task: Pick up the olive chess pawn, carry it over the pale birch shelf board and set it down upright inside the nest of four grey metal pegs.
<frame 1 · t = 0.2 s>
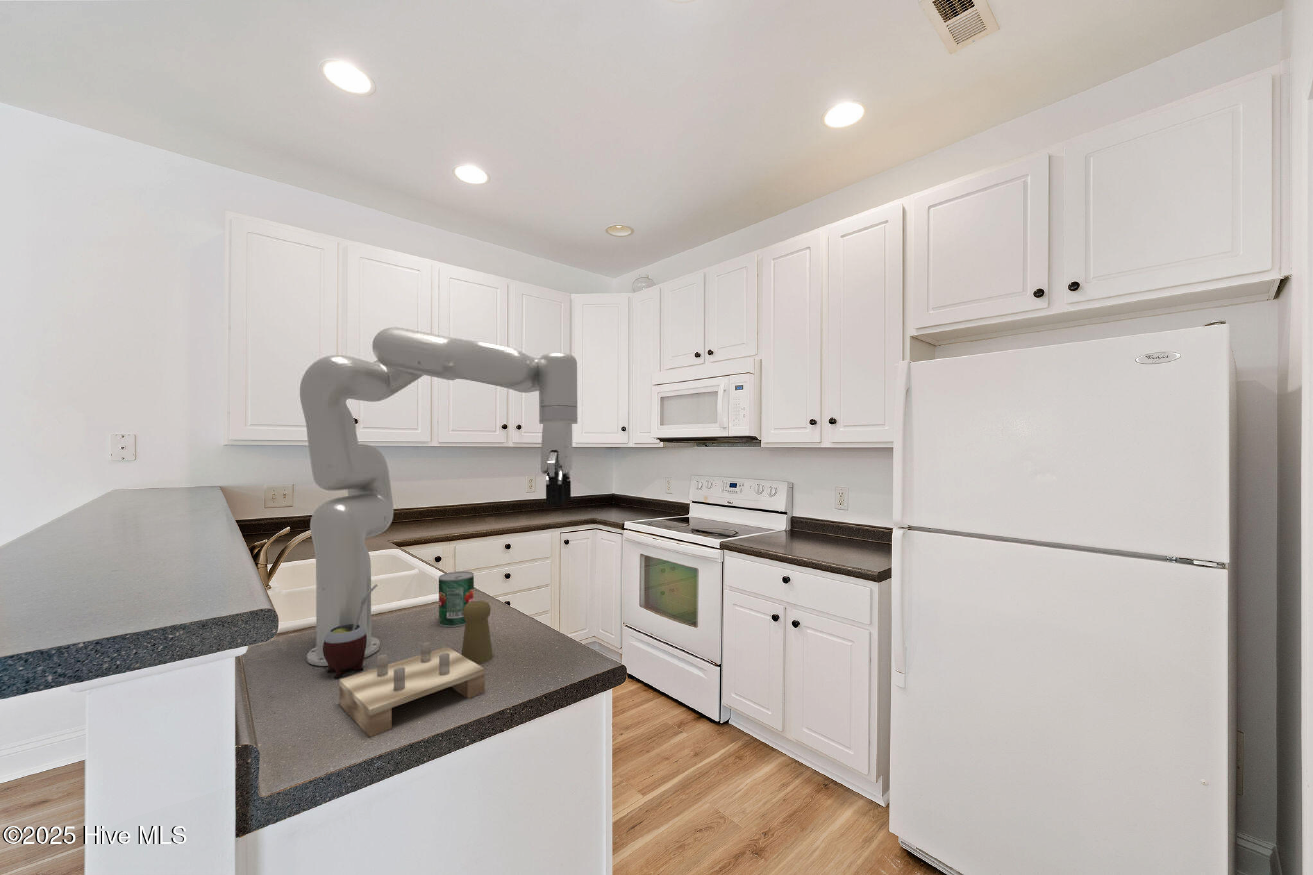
hand: (559, 502, 102), 31 cm above the counter, tool pointing down, fingers open, 9 cm apart
shelf board: (413, 697, 86), on the counter
canned tomato: (456, 622, 122), on the counter
olive chess pawn: (476, 658, 102), on the counter
mate gourd: (347, 671, 96), on the counter
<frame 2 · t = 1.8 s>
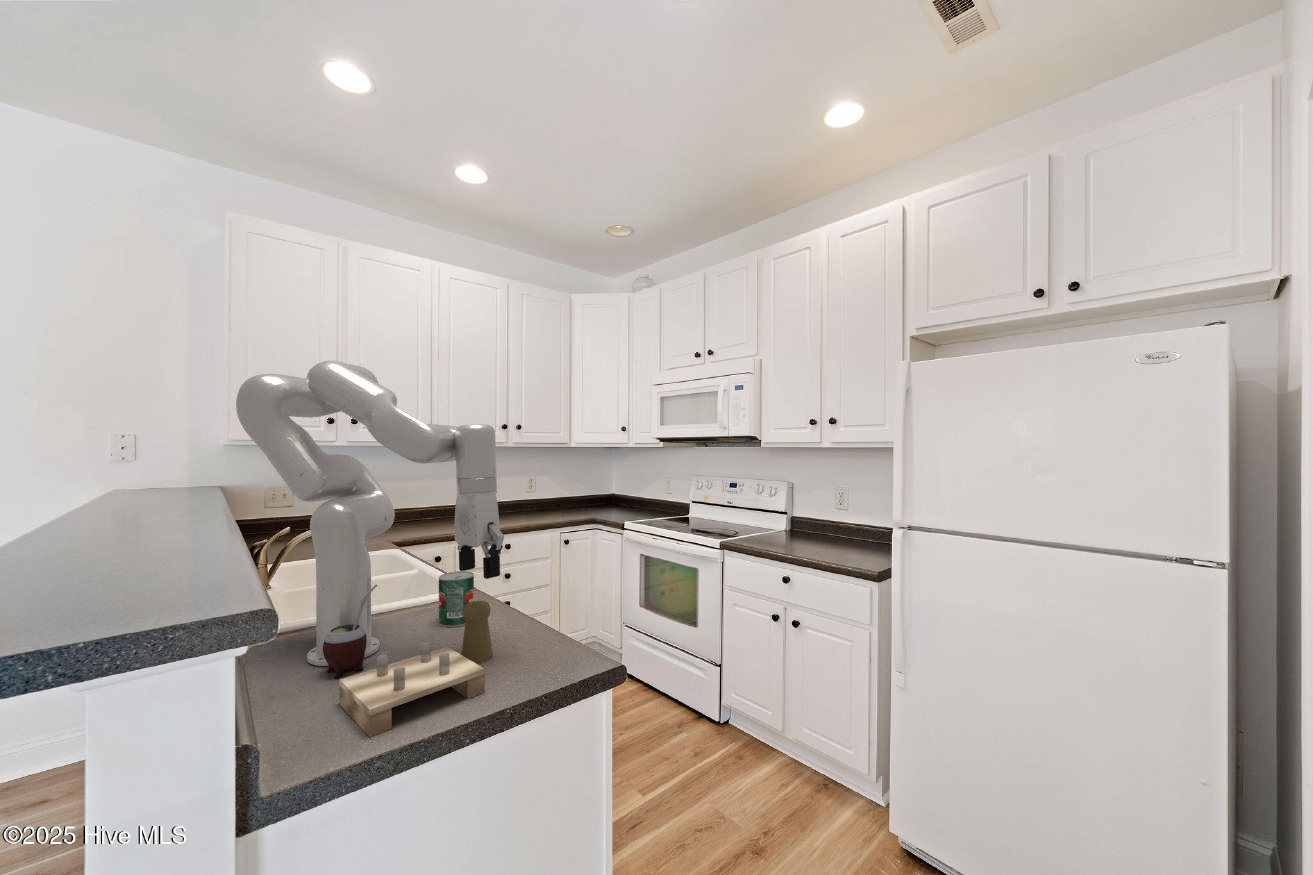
hand: (479, 573, 102), 17 cm above the counter, tool pointing down, fingers open, 9 cm apart
nothing on the counter moved.
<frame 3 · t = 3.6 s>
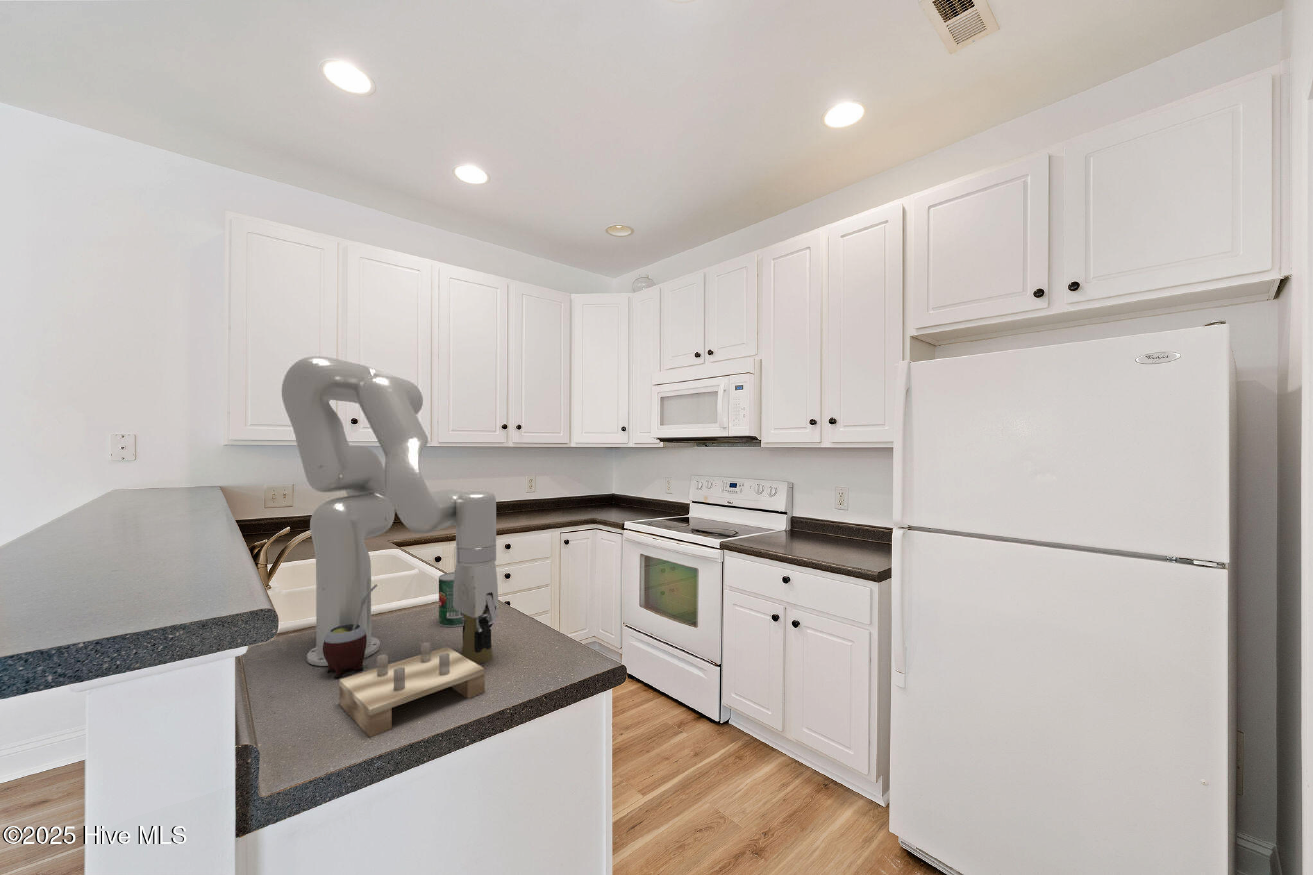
hand: (476, 646, 102), 2 cm above the counter, tool pointing down, fingers closed on olive chess pawn, 4 cm apart
olive chess pawn: (476, 658, 102), on the counter, touching gripper
everything else where it was.
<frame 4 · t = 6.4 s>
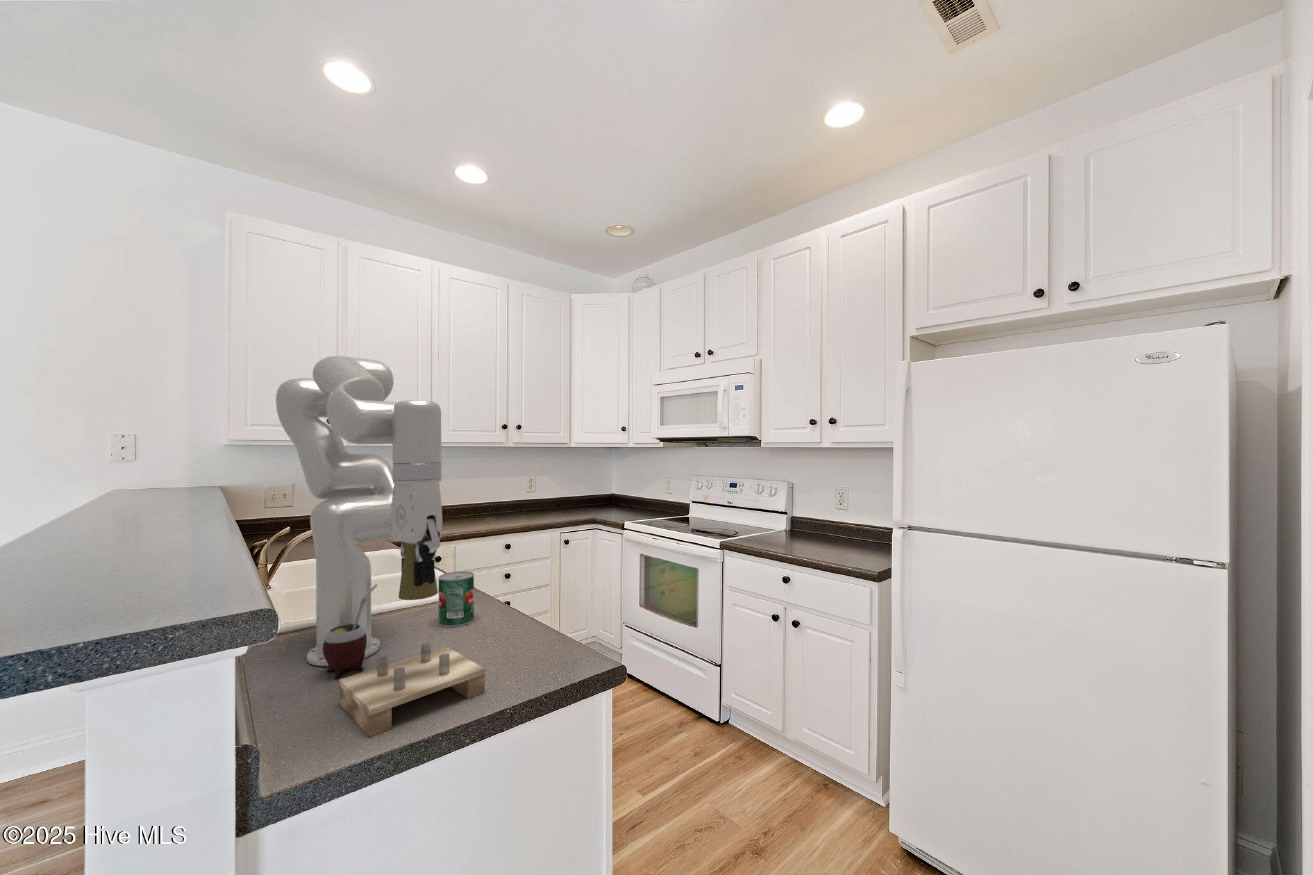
hand: (417, 580, 87), 19 cm above the counter, tool pointing down, fingers closed on olive chess pawn, 4 cm apart
olive chess pawn: (418, 595, 87), point 17 cm above the counter, touching gripper
everything else where it was.
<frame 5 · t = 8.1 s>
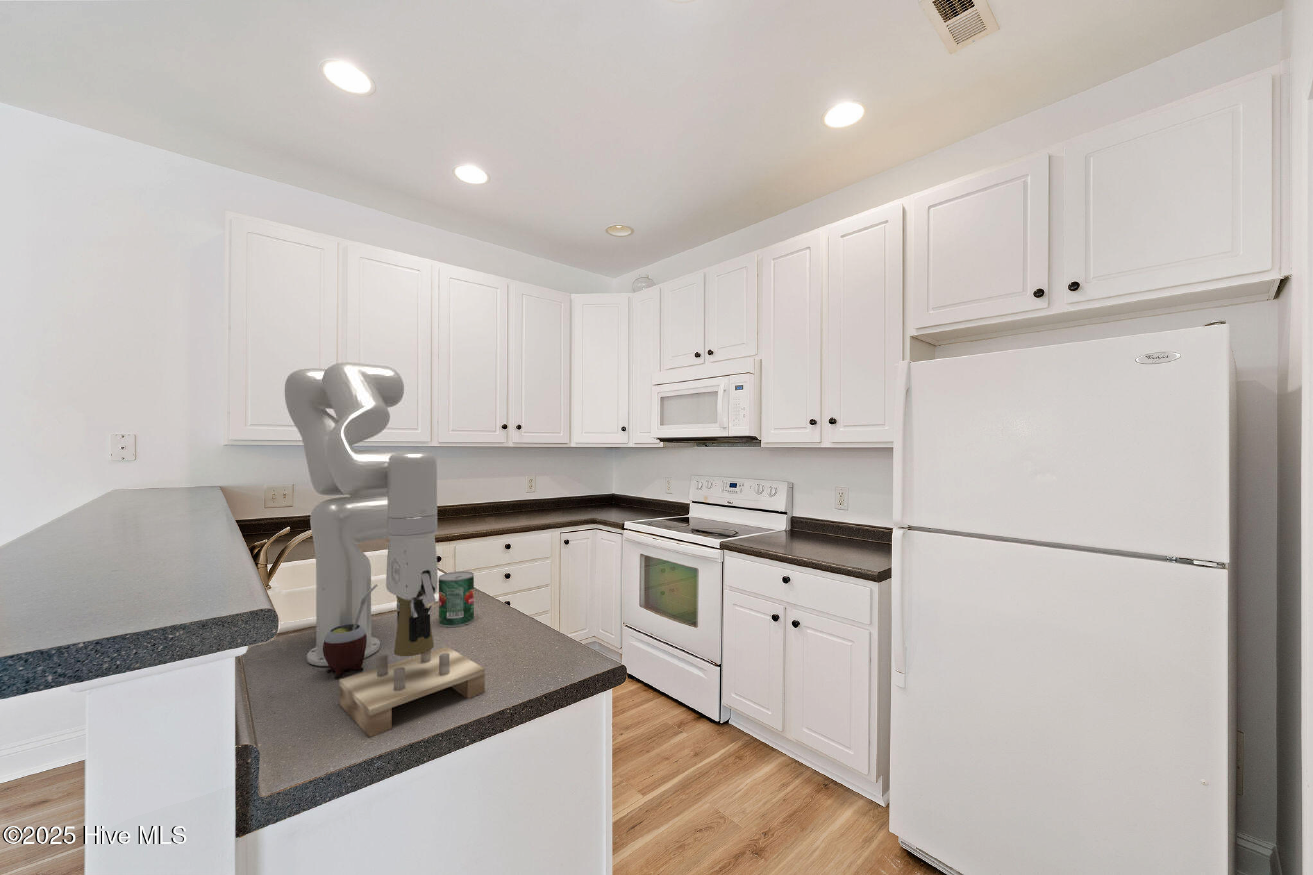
hand: (413, 634, 86), 11 cm above the counter, tool pointing down, fingers closed on olive chess pawn, 4 cm apart
olive chess pawn: (414, 649, 86), point 8 cm above the counter, touching gripper
everything else where it was.
when the fingers open (8 cm above the counter, at t = 9.3 s): olive chess pawn drops 2 cm, resting on shelf board.
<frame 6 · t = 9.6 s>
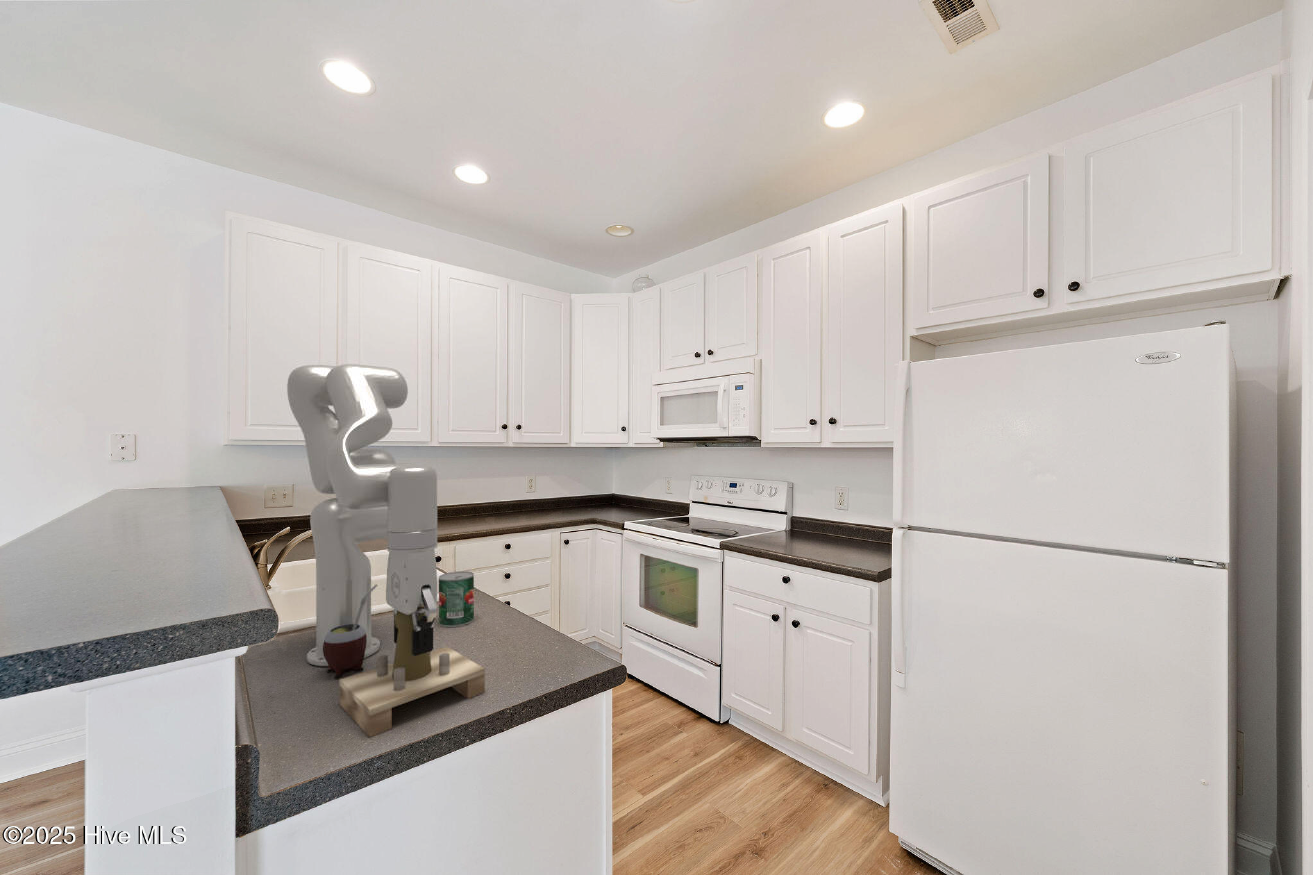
hand: (413, 645, 86), 9 cm above the counter, tool pointing down, fingers open, 6 cm apart
olive chess pawn: (412, 674, 86), point 4 cm above the counter, touching shelf board
everything else where it was.
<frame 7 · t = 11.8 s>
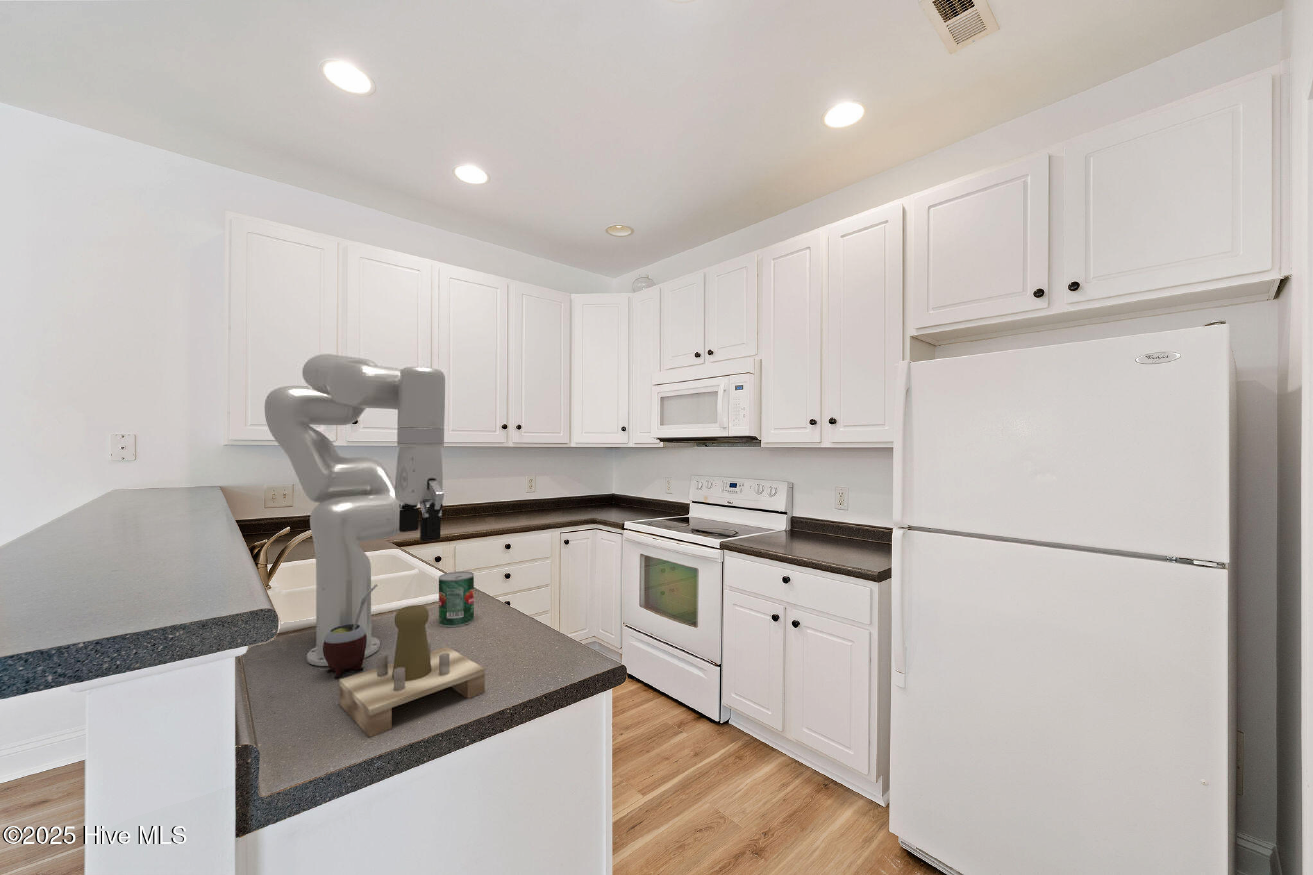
hand: (419, 535, 90), 26 cm above the counter, tool pointing down, fingers open, 9 cm apart
nothing on the counter moved.
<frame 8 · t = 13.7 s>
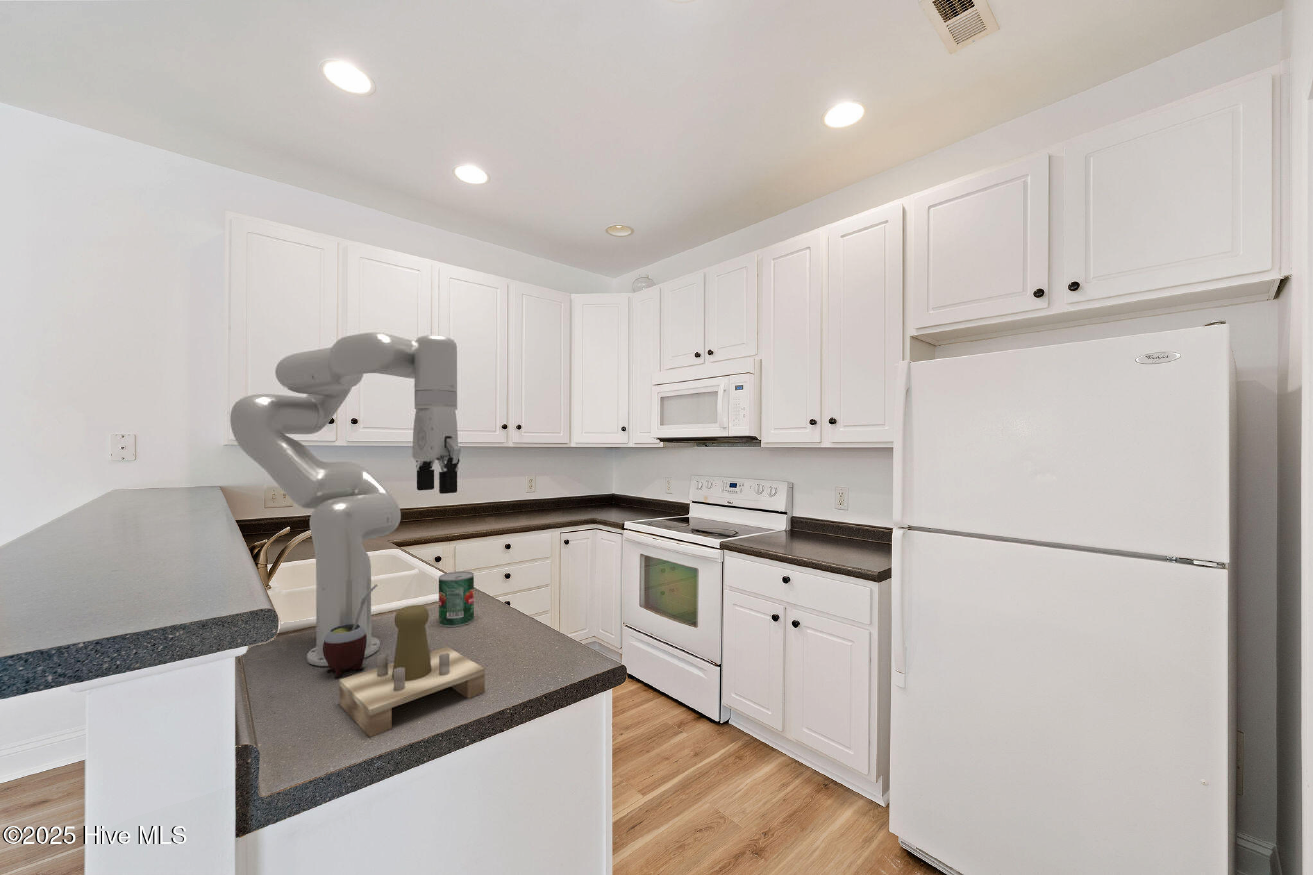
hand: (436, 491, 98), 33 cm above the counter, tool pointing down, fingers open, 9 cm apart
nothing on the counter moved.
at the end: olive chess pawn 0.5 cm off-centre on the shelf board, point 3.8 cm above the shelf board's base; olive chess pawn tilted 0°; the gripper is holding nothing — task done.
